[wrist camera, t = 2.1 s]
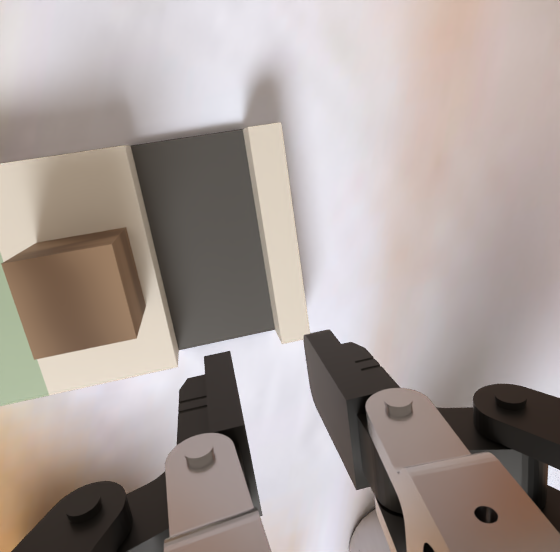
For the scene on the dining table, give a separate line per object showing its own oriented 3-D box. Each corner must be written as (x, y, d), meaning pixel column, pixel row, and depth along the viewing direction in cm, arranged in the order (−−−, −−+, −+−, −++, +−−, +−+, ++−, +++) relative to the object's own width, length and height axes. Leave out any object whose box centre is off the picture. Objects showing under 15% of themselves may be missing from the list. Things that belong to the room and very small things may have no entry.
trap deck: (272, 124, 29) (281, 122, 26) (300, 321, 33) (310, 337, 30) (-317, 212, 24) (-384, 219, 21) (-199, 428, 28) (-242, 459, 26)
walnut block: (126, 227, 26) (111, 244, 21) (145, 306, 27) (136, 338, 23) (36, 242, 25) (1, 263, 21) (61, 323, 27) (34, 359, 22)
